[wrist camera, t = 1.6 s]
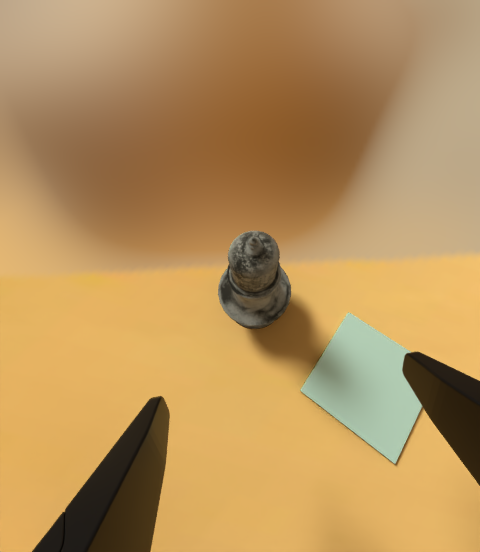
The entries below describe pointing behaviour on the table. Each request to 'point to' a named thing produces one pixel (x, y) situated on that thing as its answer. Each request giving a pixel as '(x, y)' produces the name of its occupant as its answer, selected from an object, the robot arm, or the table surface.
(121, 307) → the table surface
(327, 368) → the plate
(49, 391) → the table surface
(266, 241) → the grey stone tiered figure
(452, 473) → the table surface
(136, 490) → the robot arm
